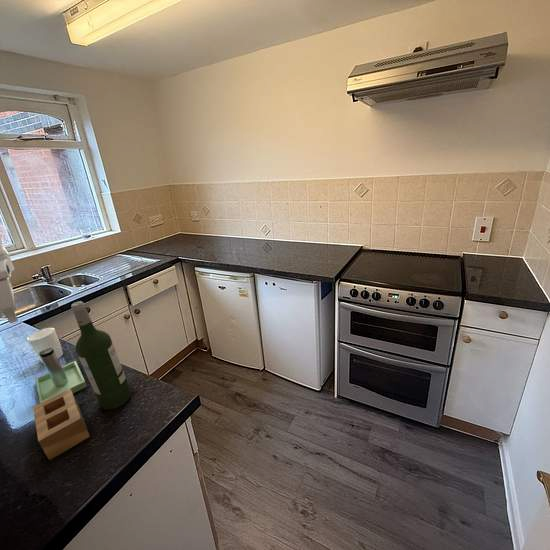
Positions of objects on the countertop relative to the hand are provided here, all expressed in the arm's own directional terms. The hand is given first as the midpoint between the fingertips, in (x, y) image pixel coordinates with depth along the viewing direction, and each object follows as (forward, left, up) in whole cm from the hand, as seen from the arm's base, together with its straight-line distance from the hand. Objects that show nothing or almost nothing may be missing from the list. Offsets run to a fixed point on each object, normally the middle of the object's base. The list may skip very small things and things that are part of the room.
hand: (13, 315), depth 81 cm
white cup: (-17, +14, -26) cm, 34 cm away
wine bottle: (+24, -1, -26) cm, 36 cm away
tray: (+1, +2, -26) cm, 26 cm away
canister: (+1, +3, -25) cm, 26 cm away
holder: (+18, -12, -26) cm, 34 cm away
